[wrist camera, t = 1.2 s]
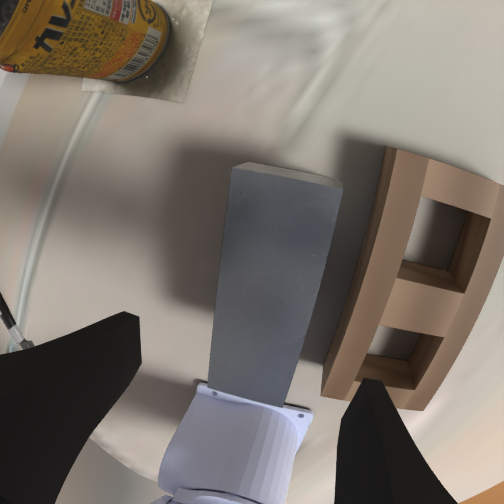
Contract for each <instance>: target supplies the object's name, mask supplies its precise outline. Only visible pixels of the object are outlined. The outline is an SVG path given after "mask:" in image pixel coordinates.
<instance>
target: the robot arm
mask: <svg viewBox="0 0 504 504" xmlns="http://www.w3.org/2000/svg"><path fill="white" fill-rule="evenodd" d="M141 363H142V358H141V342H140V321H139V317H138V316H136V315H133V314H130V313H127V312H125V311H123V312H120V313H118V314H115V315H113V316H110V317H108V318H106V319H103V320H101V321H99V322H96V323H94V324H92V325H89V326H87V327H85V328H82V329H80V330H77V331H75V332H73V333H70V334H68V335H65V336H63V337H60V338H57V339H54V340H52V341H49V342H46V343H43V344H41V345H38V346H34V347H31V348H28V349H24V350H20V351H16V352H12V353H7V354H1V355H0V504H55V502H56V499H57V496H58V494H59V492H60V490H61V488H62V486H63V483H64V481H65V479H66V477H67V475H68V473H69V471H70V469H71V467H72V466H73V464H74V462H75V460H76V458H77V456H78V455H79V453H80V451H81V450H82V448H83V446H84V444H85V443H86V441H87V439H88V438H89V436H90V435H91V434H92V432H93V431H94V429H95V428H96V427H97V425H98V424H99V423H100V422H101V420H102V419H103V418H104V417H105V415H106V414H107V413H108V412H109V410H110V409H111V408H112V406H113V405H114V404H115V403H116V401H117V400H118V399H119V398H120V396H121V395H122V394H123V392H124V391H125V390H126V388H127V387H128V386H129V384H130V382H131V381H132V379H133V377H134V376H135V374H136V372H137V370H138V369H139V367H140V365H141ZM214 391H215V392H214ZM313 414H314V413H313V412H312V411H310V410H307V409H302V408H297V407H292V406H288V405H283V408H280V407H275V406H271V405H267V404H263V403H259V402H255V401H252V400H248V399H244V398H240V397H237V396H233V395H230V394H226V393H223V392H220V391H216V390H213V389H210V388H207V384H206V383H199V384H198V386H197V393H196V395H195V396H194V398H193V400H192V402H191V404H190V406H189V408H188V409H187V411H186V413H185V415H184V417H183V419H182V421H181V422H180V424H179V426H178V428H177V430H176V432H175V433H174V435H173V437H172V439H171V441H170V443H169V445H168V447H167V449H166V452H165V454H164V457H163V460H162V463H161V466H160V470H159V475H158V485H159V488H160V489H162V490H164V491H165V492H168V493H170V494H172V495H174V497H171V496H167V495H165V496H162V497H161V498H159V499H156V500H154V501H153V502H151V504H285V501H286V497H287V492H288V487H289V483H290V478H291V473H292V468H293V463H294V458H295V454H296V452H297V450H298V448H299V446H300V444H301V442H302V440H303V438H304V436H305V434H306V432H307V429H308V427H309V425H310V423H311V421H312V419H313ZM334 504H458V503H457V502H456V501H455V500H454V498H453V497H452V496H451V495H450V494H449V493H448V491H447V490H446V489H445V488H444V486H443V485H442V484H441V482H440V481H439V480H438V478H437V477H436V475H435V474H434V473H433V471H432V470H431V468H430V467H429V466H428V464H427V463H426V461H425V459H424V458H423V456H422V454H421V453H420V451H419V450H418V448H417V446H416V445H415V443H414V441H413V439H412V438H411V436H410V434H409V432H408V430H407V428H406V427H405V425H404V423H403V421H402V419H401V417H400V415H399V413H398V411H397V409H396V407H395V405H394V403H393V402H392V400H391V398H390V396H389V394H388V392H387V390H386V388H385V386H384V384H383V382H382V381H380V380H374V379H368V378H363V380H362V382H361V384H360V386H359V387H358V389H357V391H356V393H355V395H354V397H353V399H352V401H351V403H350V404H349V406H348V408H347V410H346V412H345V413H344V415H343V417H342V419H341V424H340V431H339V437H338V444H337V461H336V483H335V501H334Z"/></svg>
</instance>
